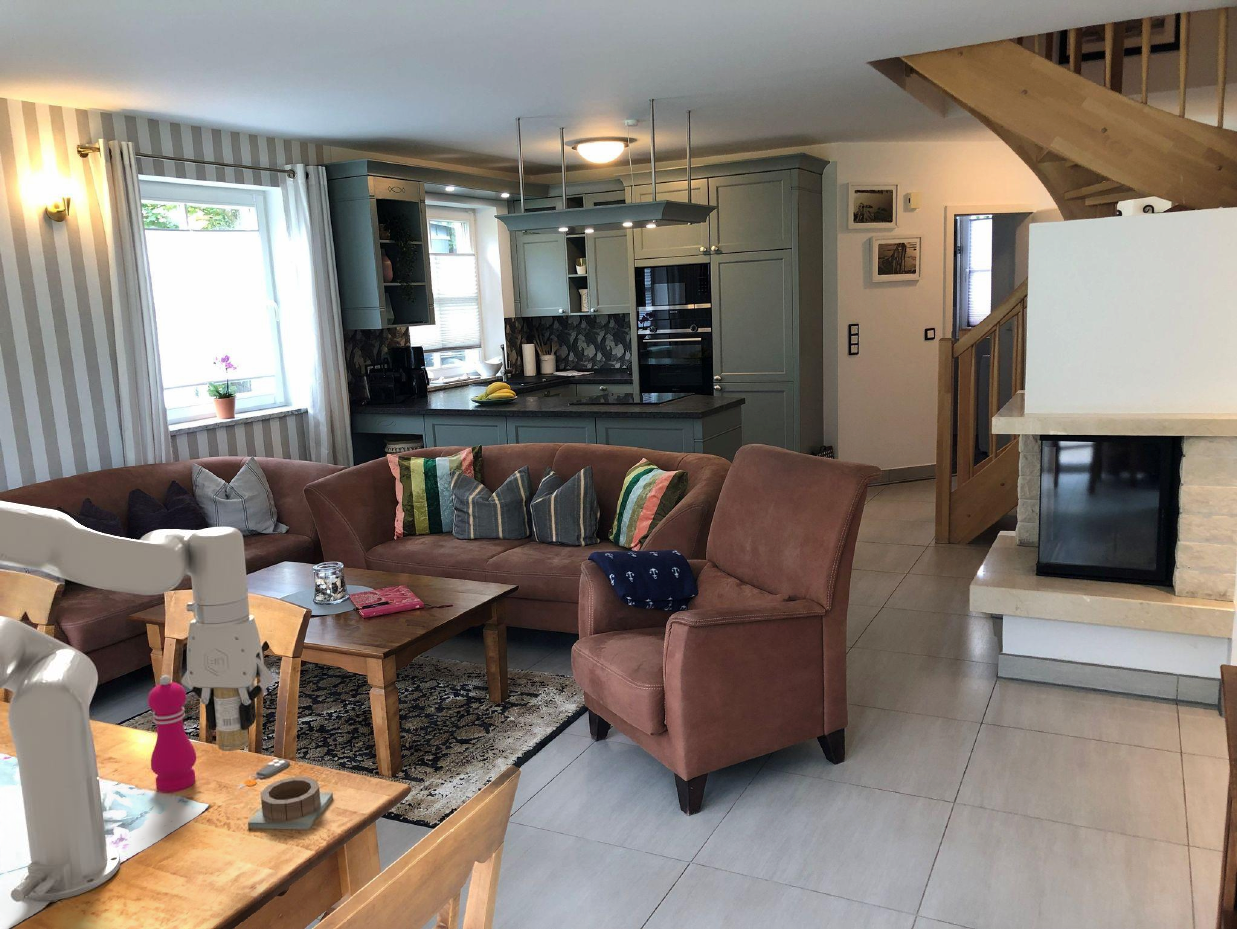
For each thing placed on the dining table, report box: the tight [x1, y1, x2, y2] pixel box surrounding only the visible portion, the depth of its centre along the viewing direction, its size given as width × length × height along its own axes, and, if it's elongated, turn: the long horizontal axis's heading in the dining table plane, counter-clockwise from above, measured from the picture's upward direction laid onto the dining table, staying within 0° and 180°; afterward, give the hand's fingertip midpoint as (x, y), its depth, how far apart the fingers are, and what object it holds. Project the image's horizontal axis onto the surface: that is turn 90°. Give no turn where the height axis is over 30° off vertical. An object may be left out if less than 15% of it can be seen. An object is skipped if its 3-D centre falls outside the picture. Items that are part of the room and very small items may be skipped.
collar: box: [247, 776, 334, 830], centre depth 155 cm, size 10×10×4 cm
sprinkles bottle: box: [214, 688, 250, 752], centre depth 144 cm, size 5×5×14 cm
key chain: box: [234, 758, 291, 790], centre depth 168 cm, size 13×4×2 cm, turn 158°
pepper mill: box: [147, 674, 197, 793], centre depth 165 cm, size 7×7×20 cm
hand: (232, 725), depth 144 cm, fingers closed on sprinkles bottle, 4 cm apart
